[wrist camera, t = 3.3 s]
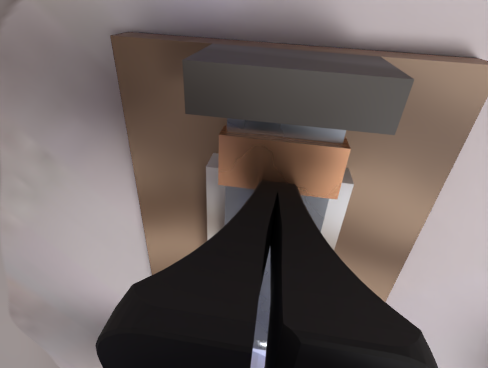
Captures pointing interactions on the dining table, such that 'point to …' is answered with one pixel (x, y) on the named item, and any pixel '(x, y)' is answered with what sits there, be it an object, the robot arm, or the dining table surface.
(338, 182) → the tan and grey block
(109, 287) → the dining table surface
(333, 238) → the clamp board
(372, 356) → the robot arm
